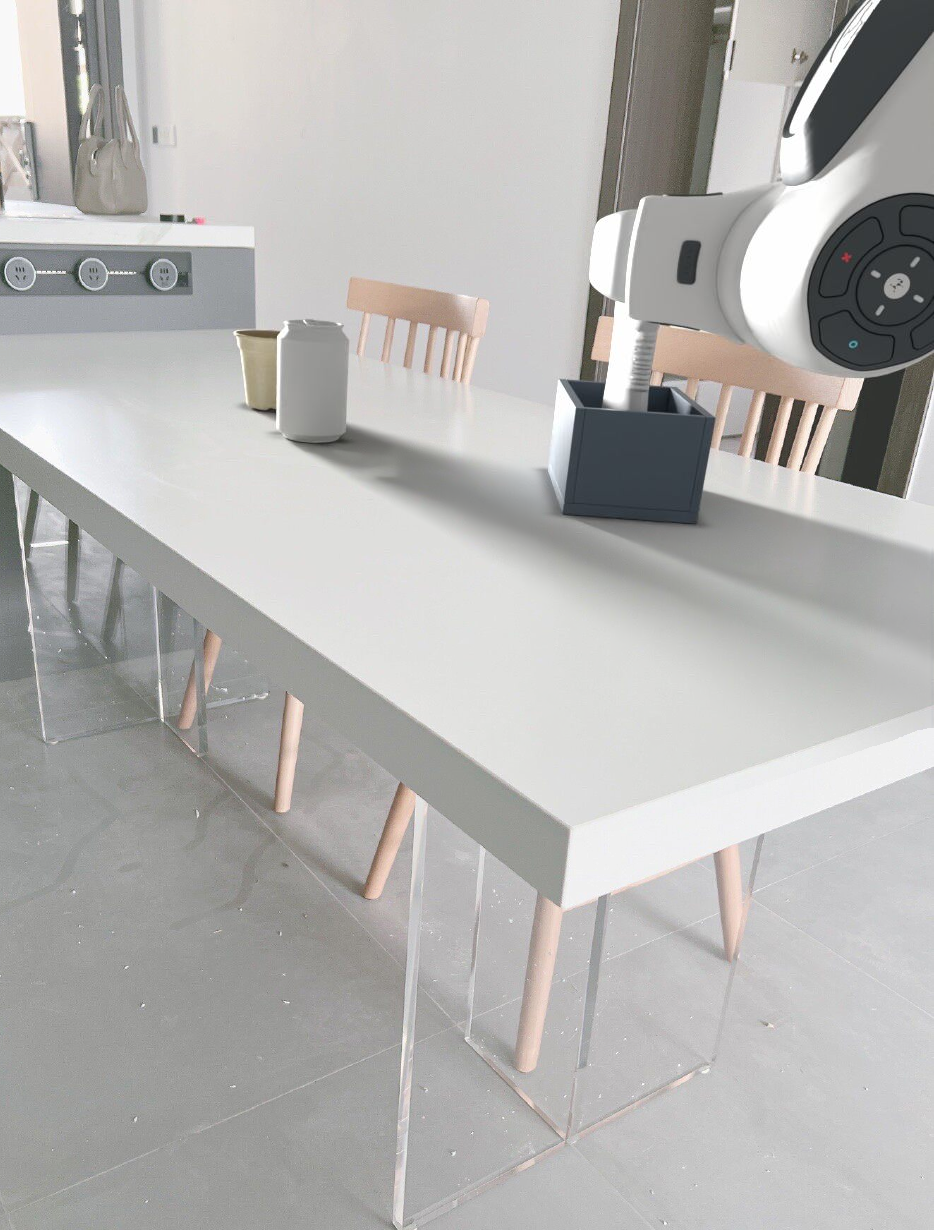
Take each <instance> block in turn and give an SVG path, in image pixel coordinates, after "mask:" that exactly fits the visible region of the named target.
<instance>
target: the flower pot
mask: <svg viewBox="0 0 934 1230" xmlns="http://www.w3.org/2000/svg"><path fill="white" fill-rule="evenodd" d="M282 331H283V330H274V329H272V330H271V329H237V330H235V331H233V335H234V336H235V337H236V342H237V347H238V349H239V351H240V359H241V366H242V376H243V385H244V392H245V403H246V405H247V407H248V408H251V409H257V410H260V411H267V410H269V409H274V410H275V411H277V350H278V335H279V334H280V333H281V332H282Z"/></svg>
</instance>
